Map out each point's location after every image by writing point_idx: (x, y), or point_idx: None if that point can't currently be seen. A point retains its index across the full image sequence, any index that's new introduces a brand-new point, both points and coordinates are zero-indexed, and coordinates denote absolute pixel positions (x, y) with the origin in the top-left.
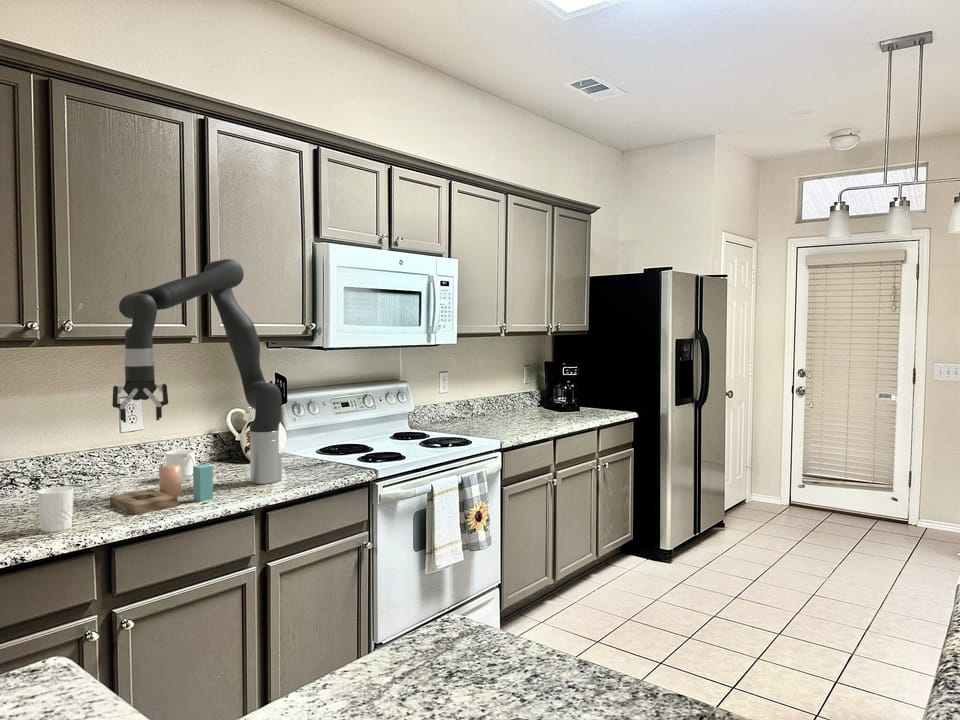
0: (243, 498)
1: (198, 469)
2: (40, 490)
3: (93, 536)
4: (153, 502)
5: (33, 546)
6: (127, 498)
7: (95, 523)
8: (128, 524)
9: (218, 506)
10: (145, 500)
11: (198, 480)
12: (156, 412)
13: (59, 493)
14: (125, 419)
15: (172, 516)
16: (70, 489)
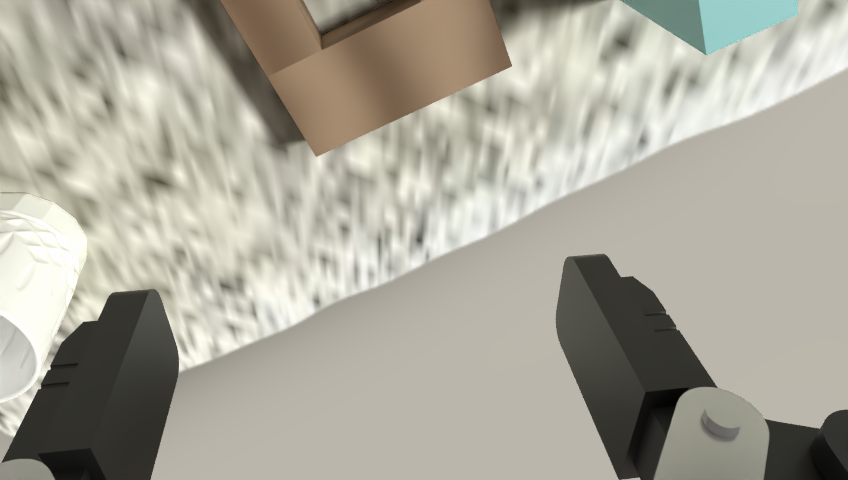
0: (800, 20)
1: (697, 33)
2: None
3: (209, 358)
4: (395, 118)
5: None
6: None
7: (170, 215)
8: (302, 267)
9: (651, 129)
10: (357, 67)
11: (662, 10)
12: (590, 412)
13: (5, 399)
14: (167, 395)
15: (458, 216)
16: (9, 310)
